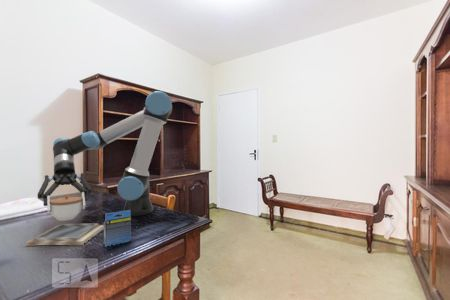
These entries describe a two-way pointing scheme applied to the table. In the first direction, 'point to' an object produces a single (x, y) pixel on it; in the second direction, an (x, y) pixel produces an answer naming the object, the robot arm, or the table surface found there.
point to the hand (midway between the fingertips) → (67, 209)
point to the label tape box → (117, 228)
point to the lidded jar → (66, 207)
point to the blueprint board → (67, 235)
